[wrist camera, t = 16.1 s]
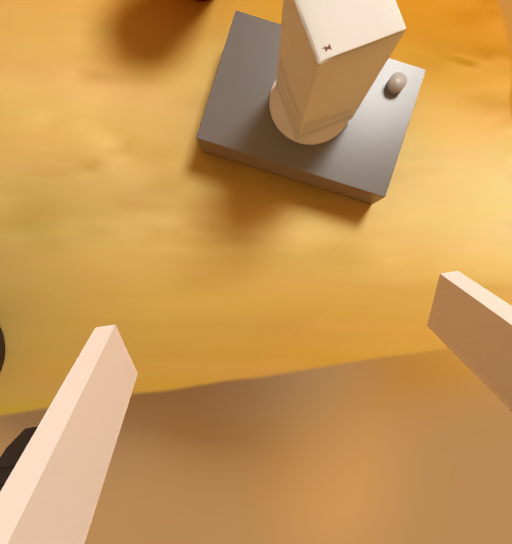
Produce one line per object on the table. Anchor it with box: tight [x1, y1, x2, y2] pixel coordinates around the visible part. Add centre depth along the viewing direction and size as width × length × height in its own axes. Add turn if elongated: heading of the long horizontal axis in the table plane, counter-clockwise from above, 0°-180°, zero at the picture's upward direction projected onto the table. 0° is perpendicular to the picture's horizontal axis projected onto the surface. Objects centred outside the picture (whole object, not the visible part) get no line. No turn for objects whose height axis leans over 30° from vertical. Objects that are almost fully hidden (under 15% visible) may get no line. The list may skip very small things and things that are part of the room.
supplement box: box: [276, 0, 406, 139], centre depth 27 cm, size 7×7×13 cm
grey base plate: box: [196, 11, 426, 204], centre depth 36 cm, size 24×16×5 cm, turn 72°
